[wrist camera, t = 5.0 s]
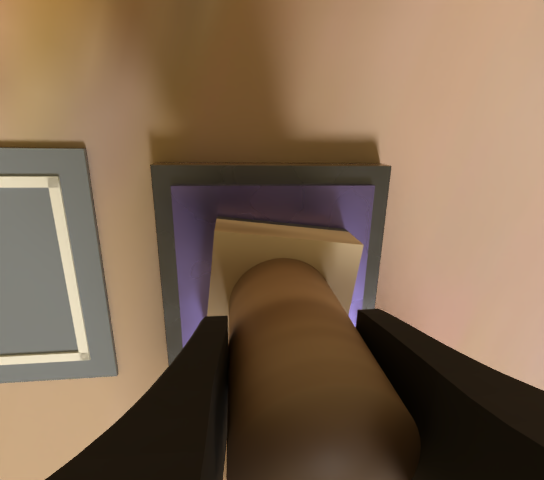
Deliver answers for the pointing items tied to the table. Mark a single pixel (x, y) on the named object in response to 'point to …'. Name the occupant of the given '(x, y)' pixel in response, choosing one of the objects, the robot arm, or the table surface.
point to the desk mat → (51, 270)
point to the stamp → (302, 359)
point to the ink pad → (257, 206)
